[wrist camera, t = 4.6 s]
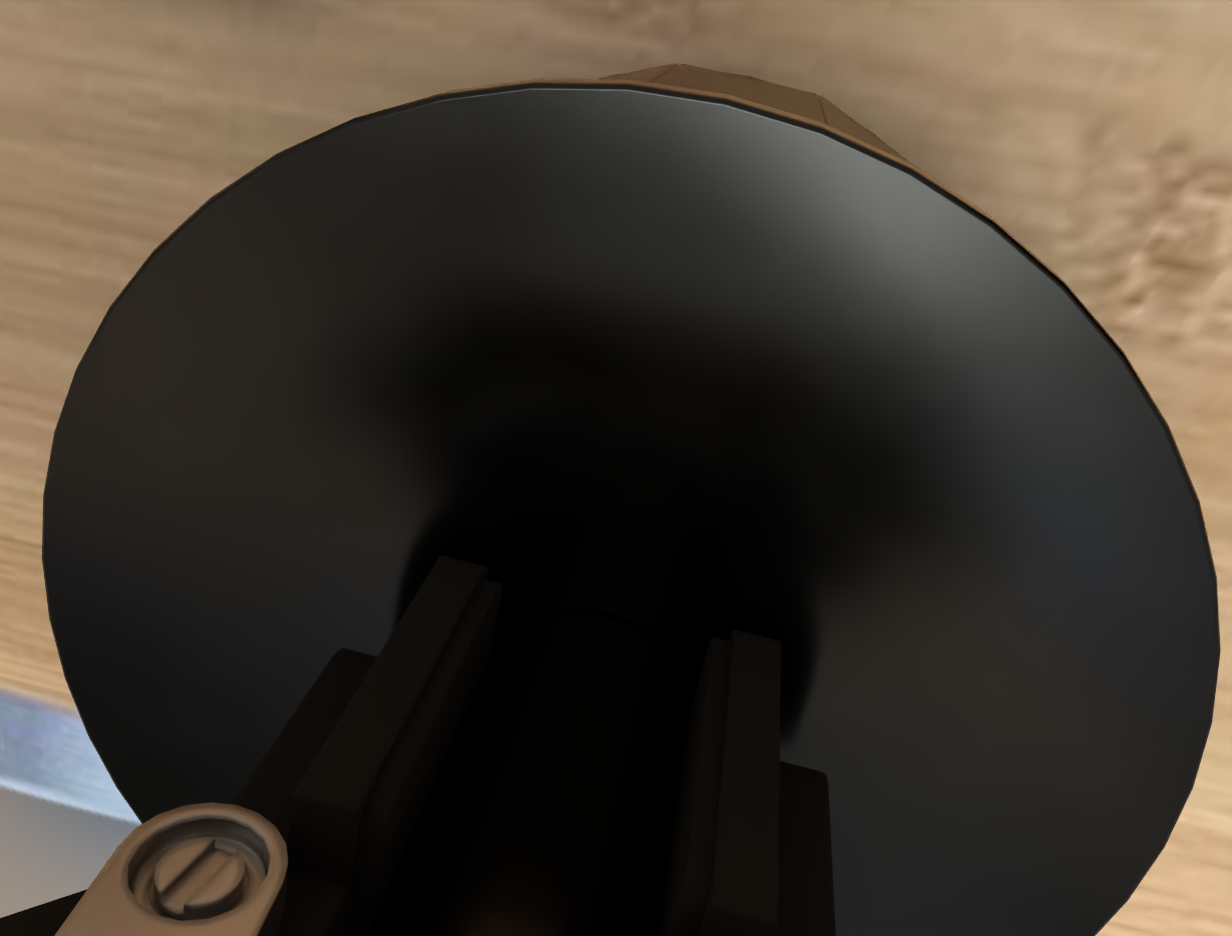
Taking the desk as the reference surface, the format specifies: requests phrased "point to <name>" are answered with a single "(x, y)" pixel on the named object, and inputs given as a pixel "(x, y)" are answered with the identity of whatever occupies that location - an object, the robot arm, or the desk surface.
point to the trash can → (758, 96)
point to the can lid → (643, 507)
